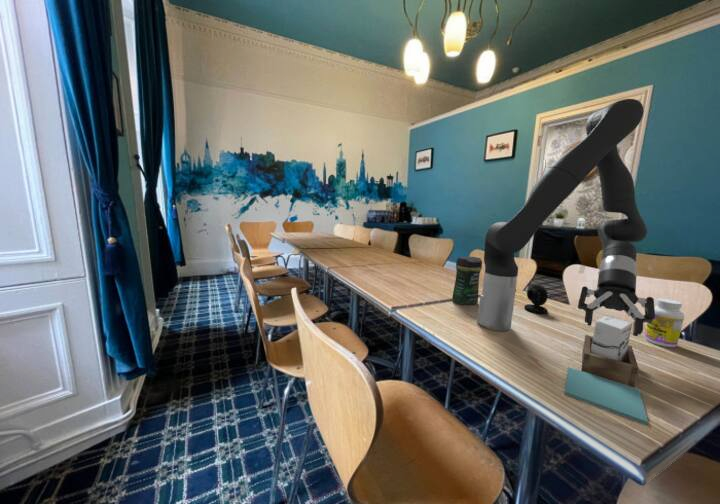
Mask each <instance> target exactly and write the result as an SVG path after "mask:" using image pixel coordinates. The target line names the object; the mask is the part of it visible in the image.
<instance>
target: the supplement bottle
mask: <svg viewBox="0 0 720 504" xmlns="http://www.w3.org/2000/svg"><path fill="white" fill-rule="evenodd" d="M656 303H657V305H656V306H655V305H654V309H655V318H654V319H653V322H652V323H647V322H646V323H647V324H646V328H645V333H644V339H645V340H646V341H647V342H650V343H652V344H654V345H657V346H660V347H664V348H665V347H666V348H676V347H677V346H678V344H679V339H680V336H681V331H682V327H683V324H684V321H685V313H684V312H682V311H680V309H681V308H682V305H683V304H682V302H681V301H677V300H674V299H668V298H661V297H660V298H657V301H656Z"/></svg>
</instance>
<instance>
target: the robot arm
mask: <svg viewBox="0 0 720 504" xmlns="http://www.w3.org/2000/svg"><path fill="white" fill-rule="evenodd" d="M643 116H644V106H643V103H642V102H641V101H640V100H637V99H635V98H625V99H620V100H617V101H615V102H612V103H610V104H608V105H606V106H604V107H602V108H600V109H598V110H596V111H594V112H593V113H592V114H590V116H589V117H588V118H587V121H586V124H585V131H586V137H585V138H584V139H582V140H581V141H580V142H579V143H577V144H576V145H575V146H573V148H570V150H568V151H567V152H566V153H564V154H563V155H562V156H560V157H558V159H556V160H555V161H554V162H553V163H551V165H550V166H549V167H548V168H547V169H546V170H545V171H544V173H542V175H541V176H540V177H539V178H538V179H537V180H536V182H535V183H534V185H533V186H532V188H531V190H530V193H529V196H528V198H527V200H526V202H525V204H523V206H522V208H521V209H520V210H519V211H518V212H516V213H515V215H514V216H513V217H512V218H511V219H510V220H508V221H499V222H498V221H497V222H496V223H493V224H492V225H490V227H489V228H488V229H487V231H486V234H485V238H484V239H485V240H484V249H483V250H484V251H483V263H484V275H483V276H484V278H483V285H482V294H480V296H479V301H478V302H479V304H478V312H477V322H476V323H477V324H478V325H480V326H482V327H484V328H486V329H489V330H493V331H499V332H505V331H510V330H511V328H512V321H513V313H514V305H515V299H516V298H515V297H516V292H517V291H516V290H517V289H516V288H517V283H518V276H519V265H517V263H516V261H515V254H516V253H518V252H520V251H522V249H523V248H524V247H526V245H527V244H528V243H529V241H530V240H531V239H532V238H533V236H534V235H535V234H536V232H537V231H538V230H539V228H540V227H541V226H542V225H543V223H544V222H545V221H546V220H547V219H548V218H549V217H550V216H551V215H552V214H553V213H554V212H555V211H556V210H557V208H558V207H559V206H560V205H561V204H562V203H563V202H564V201H565V200H566V199H567V198H568V197H570V195H571V194H572V193H573V192H574V191H575V189H577V188H578V186H579V185H581V183H582V182H583V181H584V180H585V178H587V176H588V175H589V174H591V172H592V171H593V170H594V169H595V168H596V169H597V173H598V177H599V182H600V190H601V199H602V200H601V201H602V208H603V211H604V212H606V213H619V214H623V215H624V216H626V217H627V218H621V219H610V220H605V221H603V222H601V223H600V224H599V225H598V227H597V235H598V237H599V240H600V242H601V245H602V255H601V262H600V265H599V269H598V270H599V271H598V276H597V277H598V278H597V286H596V289H589V288H588V286H585V285H584V286H582V288H581V292H580V294H579V295H580V296H579V299H578V304H577V308H578V309H579V310H583V311H584V312H585V315H584V322H585V323H587V326H590V327H591V326H592V323H593V322H592V321H593V316H594V311H595V312H596V311H597V310H599V309H601V308H602V307H604V308H605V309H608V310H614V311H617V312H618V311H619V312H622V311H624V313H626V314H627V316H629V317H631V318H632V320H633V324H632V336H634V337H638V336H639V335H640V336H641V334H643V331H644V323H652V322H653V319H654V318H655V309H654V307H655V299H654V297H652V296H647V297H646V298H645V297H638V295H637V293H636V292H637V291H636V289H637V273H638V272H637V270H638V268H637V248H636V246H635V245H634V244H632V243H639V242H642V241H643V240H645V238H646V237H647V234H648V228H647V225H646V223H645V221H644V220H643V218H642V216H641V214H640V211H639V209H638V205H637V203H636V191H635V183H634V179H633V178H634V177H633V176H632V173H631V172H630V170H629V169H628V167H627V166H626V165H625V163H624V162H623V160H622V159H621V156H620V154H619V151H618V145H619V144H620V143H621V142H622V141H623V140H624V139H625V138H627V137H628V136H629V135H630V134H632V132H634V130H636V128H637V127H638V126H639V124H640V123H641V122H642V119H643ZM592 295H593V297H594V298H595V299H594V300H593V301H592V302H590V303H589V304H587V303H585V302H586V298H590V297H591V296H592ZM637 303H639V304H640V306H641V307H642V308H644V314H642V312H641V311H640V310H639V309H638V307H637V306H636V304H637Z"/></svg>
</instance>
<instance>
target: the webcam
mask: <svg viewBox="0 0 720 504" xmlns="http://www.w3.org/2000/svg"><path fill="white" fill-rule="evenodd" d="M526 297H527V299H528V300H530V302H531V304H525V305H524V307H523V308H524V309H525V310H526V311H527V312H528V313H533V314H538V315H544V314H545V315H546V314H547V313H548V312H549V311H548V308H547V307H545V306H543V305H544V304H545V303H547V301H548V292H547V289H546V288H545V287H544V286H542V285H541V284H533V285H532V286H531V287H530V288H529V289H528V290H527V291H526Z"/></svg>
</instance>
